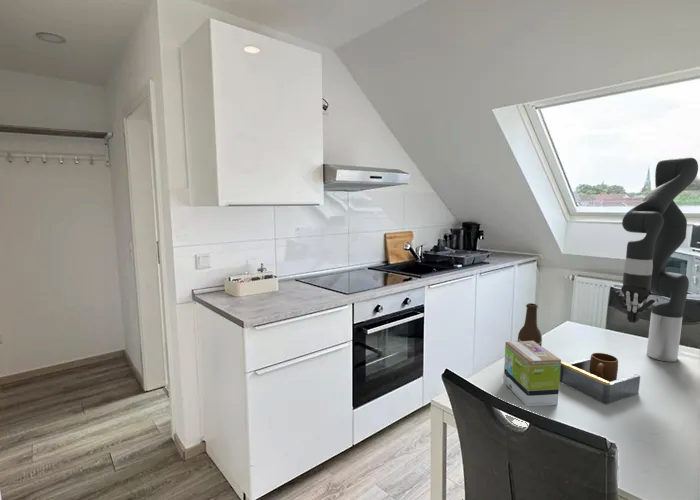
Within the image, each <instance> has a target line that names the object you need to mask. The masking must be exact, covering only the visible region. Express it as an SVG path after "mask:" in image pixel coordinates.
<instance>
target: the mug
mask: <svg viewBox="0 0 700 500" xmlns="http://www.w3.org/2000/svg"><path fill="white" fill-rule="evenodd" d="M590 357H591V359H590V369H589V373H590V374H592V375H595V376H597V377H599V378H602V379H604V380H606V381H609V382H612V381H615V380H618V373H619V372H618V368H619V359H618V358H617V357H615V356H614V355H611V354H608V353H605V352H604V353H603V352H593V353H591V355H590Z"/></svg>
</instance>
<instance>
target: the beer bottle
mask: <svg viewBox="0 0 700 500" xmlns="http://www.w3.org/2000/svg"><path fill="white" fill-rule="evenodd" d="M525 308H526V312H525V313H526V314H525V317H524V324H523V326H522V328H521V329H519V331H518V335H517V341H534V342H536V343H537V344H539V345H540V346H542V343H543V336H542V333H541V330H540V328H539V327H538V321H537V320H538V309H539V306H538V304H536V303H527V304H526V305H525Z"/></svg>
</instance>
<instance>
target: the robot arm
mask: <svg viewBox="0 0 700 500" xmlns="http://www.w3.org/2000/svg"><path fill="white" fill-rule="evenodd" d="M698 172H699V162H698V161H697V159H696V158H694V157H676V158H674V157H673V158H665V159H660V160H659V161H658V162H657V164H656V166H655V174H654V175H655V178H654V181H655V184H654V186H655V188H654V189H652V190H650V192H648V193H647V195H645V197H644V198H643V200H642V202H640V203H639V204H637V205H635V206H634V207H633V208H631V209H630V210H628V211H627V212H626V214H624V216H623V218H622V222H621V225H622V228H623V229H624V230H625V231H626V232H628V233H635V234H637V233H638V234H646V235H645V236H644V237H643V238H641V239H632V240H629V241H628V242H627V244H626V254H625V261H624V264H623V265H624V266H623V274H622V286H621V288H620V290H617V291H614V292H613V295H614V297H615V298H616V300H617V302H618V303H619V304H620V307H621V308H623V309H626V310H627V317H626V318H627V320H628V323H631V324H636V323H637V322H639V321H640V313H644V312H647V311H648V310H649V309H651V310H650V311H651V312H650V318H649V319H650V321H649V329H648V338H647V346H646V356H648V357H649V358H652V359H655V360H658V361H662V362H668V363H674V362H677V361H678V357H679V349H680V342H681V341H680V340H681V332H682V324H683V317H684V311H685V308H686V303H687V302H686V301H687V298H688V297H687V296H688V292H689V287H690V285H689V284H690V282H689V277H688V276H687V275H685V274H683V273H677V272H671V271H666V266H667V263H668V262H669V261H668V260H669V259H670V257H672V255H673V254H674V253H675V252H676V251H677V250H678V249H679V247H681V246H682V244H683V243H684V242H685V241H686V239H687V227H688V219H687V217H686V216H685V214H684V213H683V210H681V209H680V207H679V206H678V205H677V203H676V202H675V201H674V200H675V199H676V198H677V197H678V196H679V195H680V194H681V193H682V192H684V191H685V190H686V189H687V188H688V187H689V186H690V185H691V184H692V183H693V182H694V181H695V179H696V178H697V175H698ZM652 294H653V295H657V296H662V297H666V298H667V297H668V298H670V299H669V301H668V302H663V303H659V299H657V298H654V296H652ZM644 302H646V303H644Z"/></svg>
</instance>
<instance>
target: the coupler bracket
mask: <svg viewBox="0 0 700 500" xmlns="http://www.w3.org/2000/svg"><path fill="white" fill-rule="evenodd" d="M590 359H591V356H590V357H586V358H583V359H578V360H575V361H571V362H565V361H561V369H560V381H559V383H561V384H563V385H565V386H567V387H569V388H571V389H573V390H575V391H578V392H580V393H581V394H583V395H585V396H587V397H590V398H591V399H593V400H596V401H598V402H599V403H601V404H604V405H608V404H612V403H615V402H618V401H620V400H621V401H622V400H623V399H627V398H630V397H633V396H636V395H639V392H640V391H639V390H640V385H641V384H640V381H641V375H639V374H638V373H637V374H633V375H630V376H629V375H628V376H626V377H622V378H619V379H618V378H617V380H615V381H612V382H609V381H606V380H604V379H602V378H599V377H597V376H595V375H592V374H590V373H589V369H590Z"/></svg>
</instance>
